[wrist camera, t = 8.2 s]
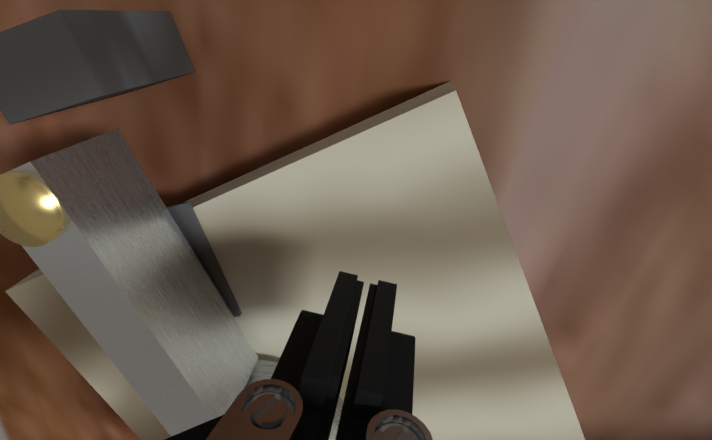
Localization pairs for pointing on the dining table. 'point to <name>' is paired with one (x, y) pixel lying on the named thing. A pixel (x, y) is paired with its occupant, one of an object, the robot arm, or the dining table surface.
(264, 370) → the crank
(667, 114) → the dining table surface
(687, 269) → the dining table surface
